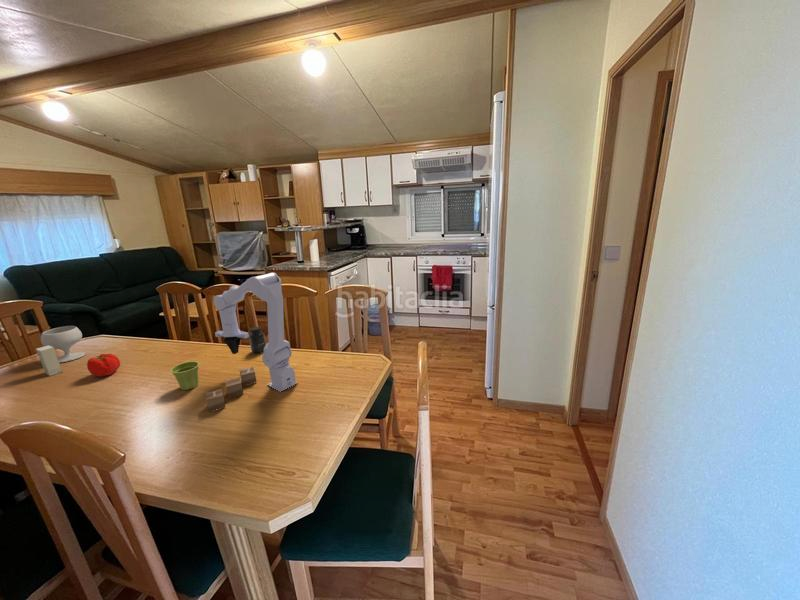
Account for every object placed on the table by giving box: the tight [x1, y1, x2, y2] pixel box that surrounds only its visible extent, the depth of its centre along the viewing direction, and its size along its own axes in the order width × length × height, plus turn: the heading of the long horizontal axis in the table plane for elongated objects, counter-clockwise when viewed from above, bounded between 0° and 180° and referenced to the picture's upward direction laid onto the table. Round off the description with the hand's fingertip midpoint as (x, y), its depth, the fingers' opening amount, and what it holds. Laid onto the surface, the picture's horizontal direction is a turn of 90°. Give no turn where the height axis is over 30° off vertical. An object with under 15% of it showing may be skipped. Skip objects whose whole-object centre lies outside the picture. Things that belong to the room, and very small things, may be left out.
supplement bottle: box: [248, 326, 267, 355], centre depth 157 cm, size 7×7×12 cm
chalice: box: [40, 325, 86, 364], centre depth 157 cm, size 14×14×15 cm
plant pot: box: [170, 360, 200, 391], centre depth 126 cm, size 9×9×9 cm
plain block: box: [224, 376, 244, 399], centre depth 121 cm, size 5×5×5 cm
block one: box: [205, 388, 226, 412], centre depth 113 cm, size 5×5×5 cm
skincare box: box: [35, 345, 63, 376], centre depth 142 cm, size 6×4×12 cm
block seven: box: [239, 366, 257, 387], centre depth 129 cm, size 5×5×5 cm
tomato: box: [86, 353, 121, 377], centre depth 140 cm, size 11×11×9 cm
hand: (235, 353), depth 134 cm, fingers closed
